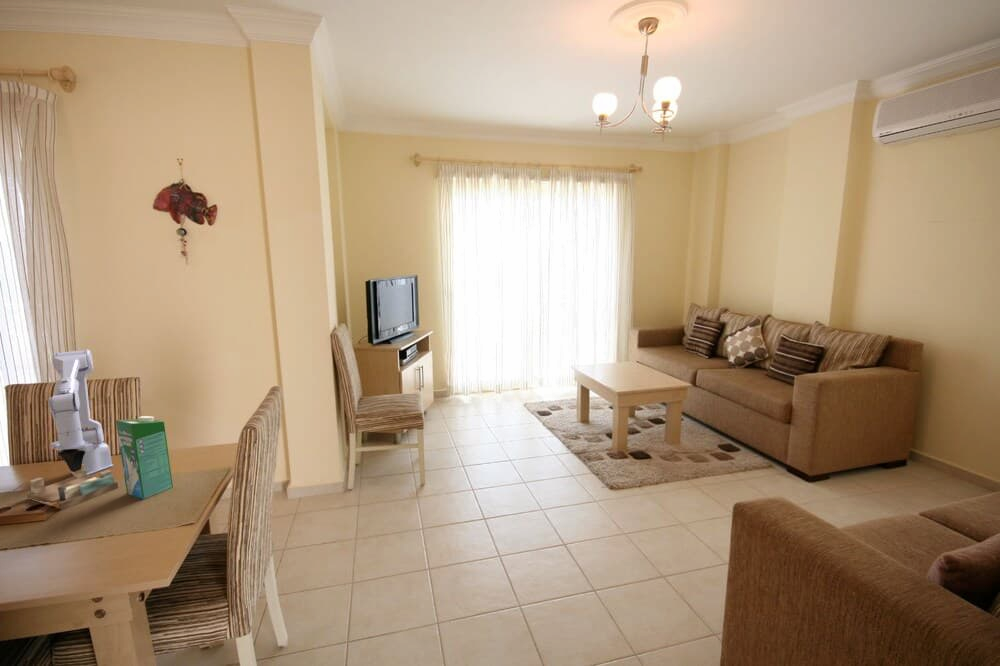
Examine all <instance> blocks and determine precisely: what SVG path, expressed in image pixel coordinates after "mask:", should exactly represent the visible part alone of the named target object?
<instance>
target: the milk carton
mask: <svg viewBox="0 0 1000 666" xmlns="http://www.w3.org/2000/svg"><path fill="white" fill-rule="evenodd" d="M115 423H116V429H117V431H116V432H117V435H118V436H117V438H118V444H119V450H120V457H121V463H122V469H123V475H124V482H125V483H124V484H125V488H126V489H125V491H126V494H127V495H129V496H132V497H135V498H138V499H141V500H144V499H147V498H149V497H152V496H154V495H156V494H158V493H161V492H163V491H167V490H168V489H170V488H173V487H174V484H173V477H172V469H171V464H170V463H171V462H170V456H169V447H168V440H167V432H166V426H165V425H166V424H165V421H162V420H157V419H155V417H154V416H151V415H149V416H148V415H144V416H143V415H142V416H139V417H138V418H133V419H131V418H130V419H119V420H117V419H116V420H115Z"/></svg>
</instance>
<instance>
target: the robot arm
mask: <svg viewBox="0 0 1000 666" xmlns="http://www.w3.org/2000/svg"><path fill="white" fill-rule="evenodd" d="M51 358H52V359H51V360H52V365H53V369H55V371H56V372H57V374H59V376H60V378H59V379H57V381H55V384H54V390H53V395H52V396H51V397H49V399H48V406H49V410H50V413H51V415H52V419H53V420H54V423H55V429H56V434H57V440H56V441H54V442H50V446H51V449H52V450H55V451H59V452H58V454H57V455H58V456H59V457H61V459H62V460H63V461H64V462H65V463H66V465H67V466H68V469H69V470H70V474H71V475H73V472H76V471H78V470H81V467H82V464H84V465H85V470H86V474H88V475H93V474H94V473H97V472H100V471H103V470H107V469H109V468H111V467H113V466H114V464H113V463H112V457H111V450H110V447H109V445H108V444H107V443H106V442H104V440H105V438H104V437H105V436H104V431H103V430H104V429H103V428H102V427H103V425H102V424H101V422H100V421H97V420H94V419H92V418H91V409H90V402H89V401H90V399H89V393H88V384H87V382H88V381H87V379H88V374H91V373H93V372H94V363H93V355H92V351H91V350H89V349H83V350H72V351H62V352H54V353H53V354H52V357H51Z"/></svg>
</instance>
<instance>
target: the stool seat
mask: <svg viewBox="0 0 1000 666" xmlns="http://www.w3.org/2000/svg"><path fill="white" fill-rule="evenodd" d="M93 477H96V478H99V479H98V480H95V481H92V482H90V483H87V484H84V485H81V486H79V488H80V494H79V495H76V496H74V497H71V498H69V499H65V500H60V498H59V492H58V488H59V487H61V486H66V487H69V486H71V485H74V484H77V483H80V482H82V481H85V480H88V479H91V478H93ZM29 486H30V489H31V490H30V492H27V493H26V495H27V499H28V498H31V499H35V500H38V501H43V502H50V503H53V502H58V503H59V507H60V509H59V510H60V511H63V510H65V509H68V508H71V507H73V506H76V505H77V504H80V503H83V502H85V500H86V501H87V500H91V499H93V498H95V496H96V497H98V496H100V495H103V494H106V493H108V492H111V491H113V490H116V489H118V488H119V483H118V481H115V480H114V473H113V470H110V469H105V470H104V471H103V470H102V471H101V472H100V471H99V476H95V475H93V474H89V475H88V474H86V470H85V465H84V464H82V467H81V470H78V471H76V472H73V474H72V477H69V478H67V479H63V480H61V481H58V482H55V483H53V484H50V485H46V486H45V480H44V478H42V477H37V478H34V479H33V478H32V479H30V480H29ZM105 492H106V493H105ZM90 498H91V499H90Z"/></svg>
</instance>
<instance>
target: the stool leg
mask: <svg viewBox="0 0 1000 666" xmlns="http://www.w3.org/2000/svg"><path fill="white" fill-rule="evenodd" d="M96 477H97V476H96ZM96 477H93V478H91V479H88V480H85V481H82V482H80V483H77V484H74V485H71V486H69V487H66V486H61V487H59V488H58V492H59V498H60V500H65V499H69V498H71V497H74V496H76V495H79V494H80V488H79V486H81V485H84V484H87V483H90V482H92V481H95V480H98V479H99V478H96Z"/></svg>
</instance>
